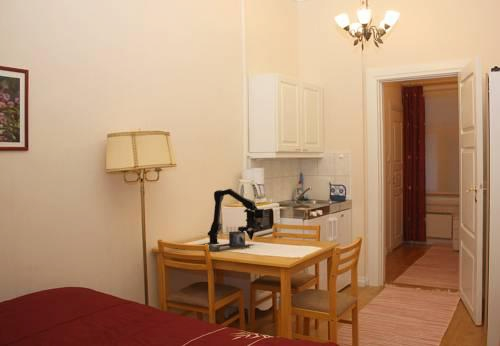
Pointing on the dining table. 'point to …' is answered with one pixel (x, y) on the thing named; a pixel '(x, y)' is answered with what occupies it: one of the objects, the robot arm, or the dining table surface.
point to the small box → (236, 238)
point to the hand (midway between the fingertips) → (251, 239)
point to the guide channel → (217, 248)
